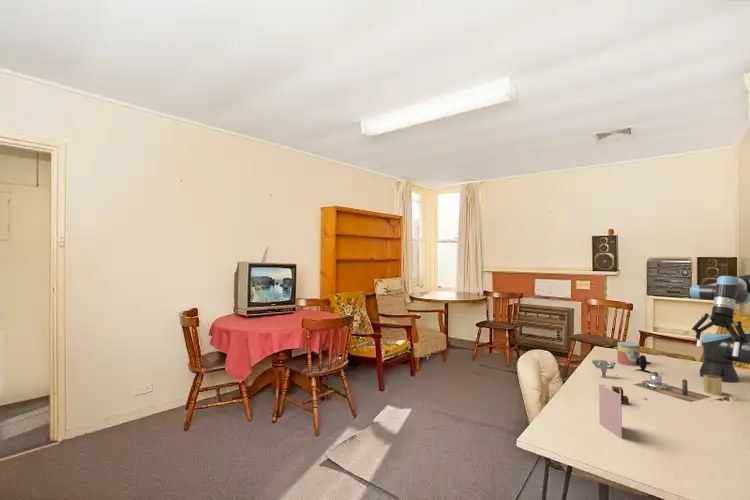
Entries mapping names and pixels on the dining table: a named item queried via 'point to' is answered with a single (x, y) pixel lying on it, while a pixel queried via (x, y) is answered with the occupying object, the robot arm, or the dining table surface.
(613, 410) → the greeting card
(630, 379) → the dining table surface
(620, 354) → the canned food
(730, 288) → the robot arm
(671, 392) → the gear board
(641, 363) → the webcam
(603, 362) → the mechanical component
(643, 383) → the steel gear
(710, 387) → the brass gear
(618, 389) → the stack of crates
